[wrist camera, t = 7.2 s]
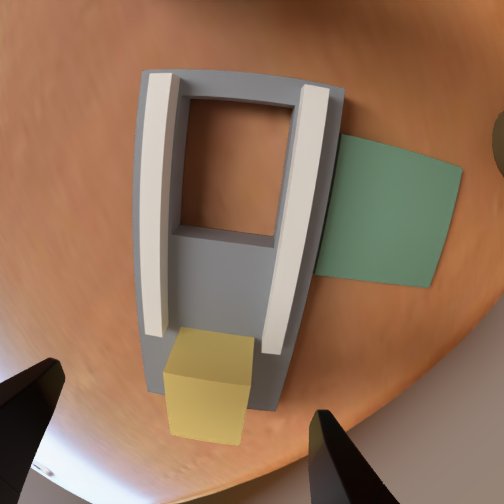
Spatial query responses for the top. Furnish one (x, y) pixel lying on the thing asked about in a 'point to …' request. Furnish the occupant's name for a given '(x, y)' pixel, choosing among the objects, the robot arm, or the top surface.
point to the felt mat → (386, 214)
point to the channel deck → (223, 241)
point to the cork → (499, 142)
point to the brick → (208, 385)
